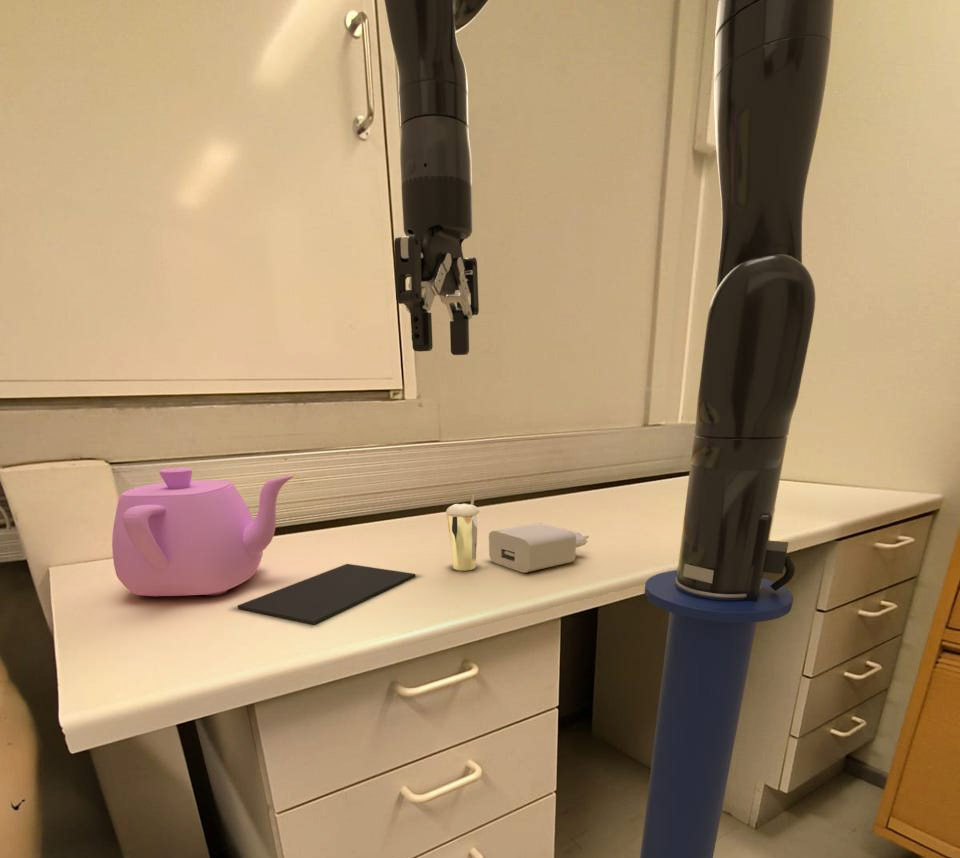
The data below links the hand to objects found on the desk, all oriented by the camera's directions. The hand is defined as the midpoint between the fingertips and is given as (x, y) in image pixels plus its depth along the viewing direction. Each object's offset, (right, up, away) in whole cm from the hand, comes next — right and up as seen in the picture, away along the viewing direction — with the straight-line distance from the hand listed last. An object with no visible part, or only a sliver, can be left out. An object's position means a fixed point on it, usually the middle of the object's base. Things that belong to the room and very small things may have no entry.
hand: (442, 353), depth 68 cm
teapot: (-33, -26, +10) cm, 43 cm away
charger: (+14, -22, +19) cm, 32 cm away
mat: (-14, -27, +6) cm, 32 cm away
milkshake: (+2, -23, +16) cm, 28 cm away
